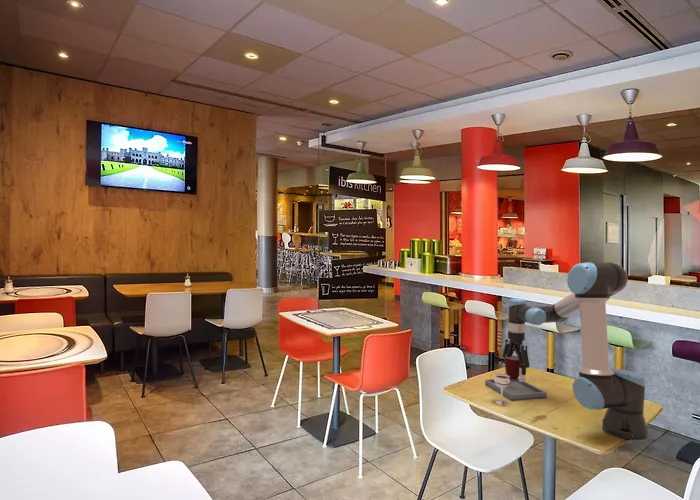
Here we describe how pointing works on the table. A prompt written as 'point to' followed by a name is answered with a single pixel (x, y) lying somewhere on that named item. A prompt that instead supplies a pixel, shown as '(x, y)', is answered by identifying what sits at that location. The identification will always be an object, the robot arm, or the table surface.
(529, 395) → the tray
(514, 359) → the mug
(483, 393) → the table surface
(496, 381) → the wineglass
